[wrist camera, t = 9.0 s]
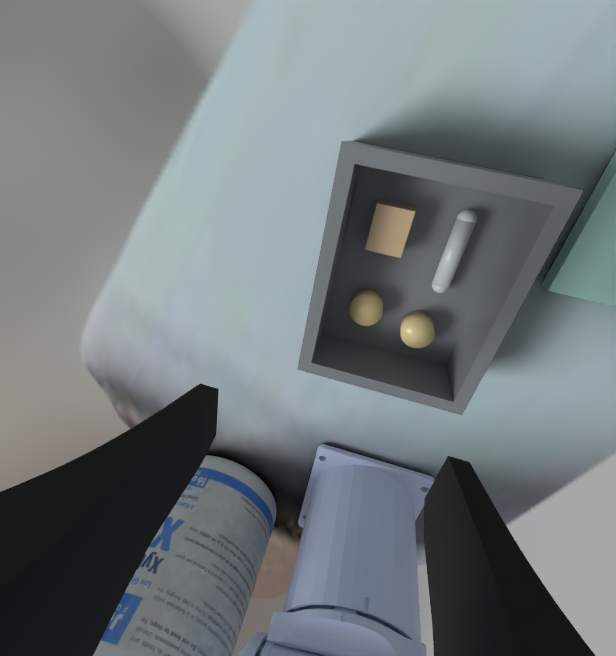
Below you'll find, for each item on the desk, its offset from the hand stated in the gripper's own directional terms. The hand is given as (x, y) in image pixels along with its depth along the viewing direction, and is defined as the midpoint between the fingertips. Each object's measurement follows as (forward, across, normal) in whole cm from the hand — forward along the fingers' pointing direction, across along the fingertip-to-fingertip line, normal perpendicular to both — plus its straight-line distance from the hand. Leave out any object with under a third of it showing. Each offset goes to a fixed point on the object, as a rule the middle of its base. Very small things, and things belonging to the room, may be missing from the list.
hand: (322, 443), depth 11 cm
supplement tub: (+10, +6, +19) cm, 22 cm away
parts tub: (+9, -2, -3) cm, 10 cm away
